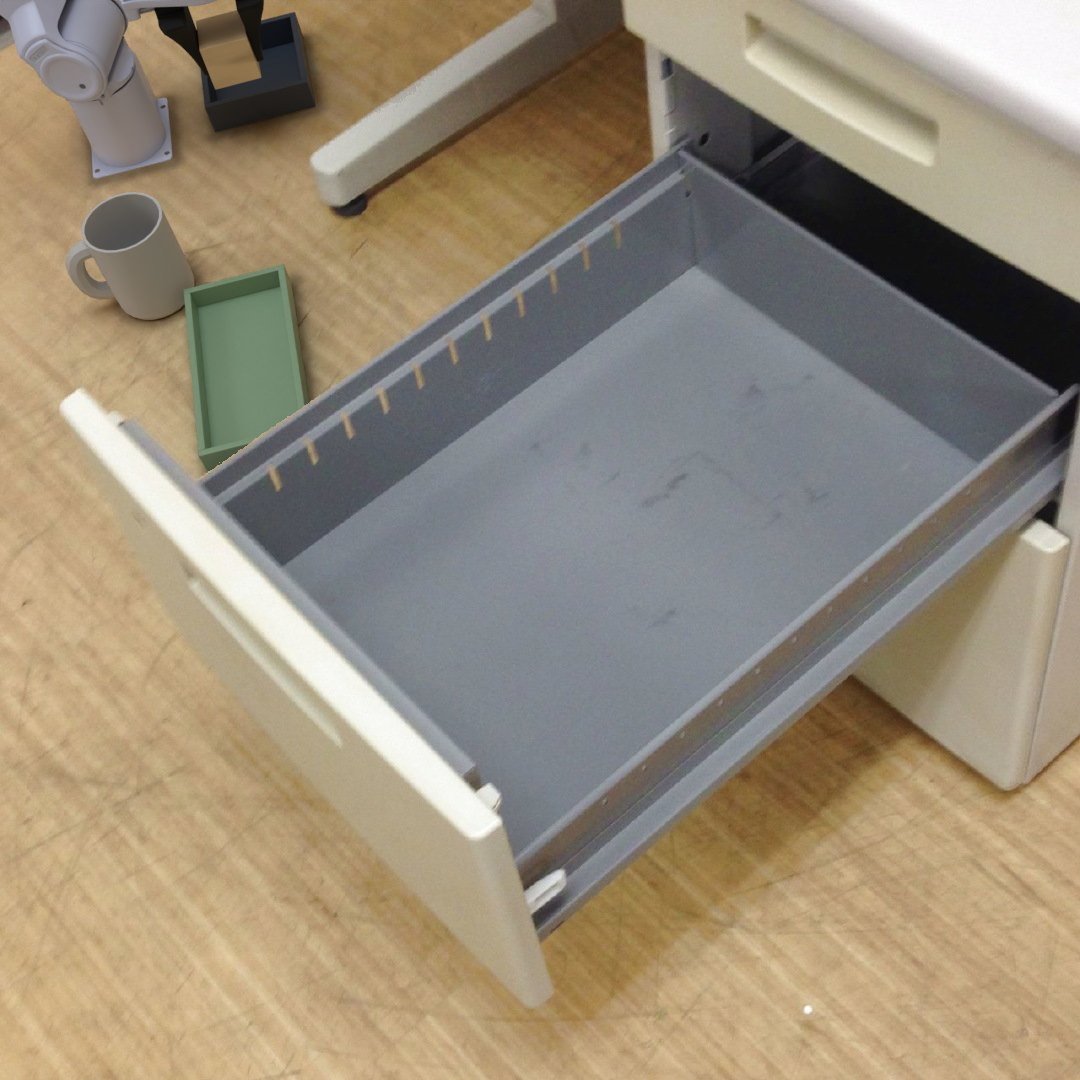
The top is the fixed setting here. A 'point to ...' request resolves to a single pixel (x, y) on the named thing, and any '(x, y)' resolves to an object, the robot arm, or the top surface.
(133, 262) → the cup
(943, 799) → the top surface
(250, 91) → the dark grey open box
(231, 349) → the tray
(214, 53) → the block
